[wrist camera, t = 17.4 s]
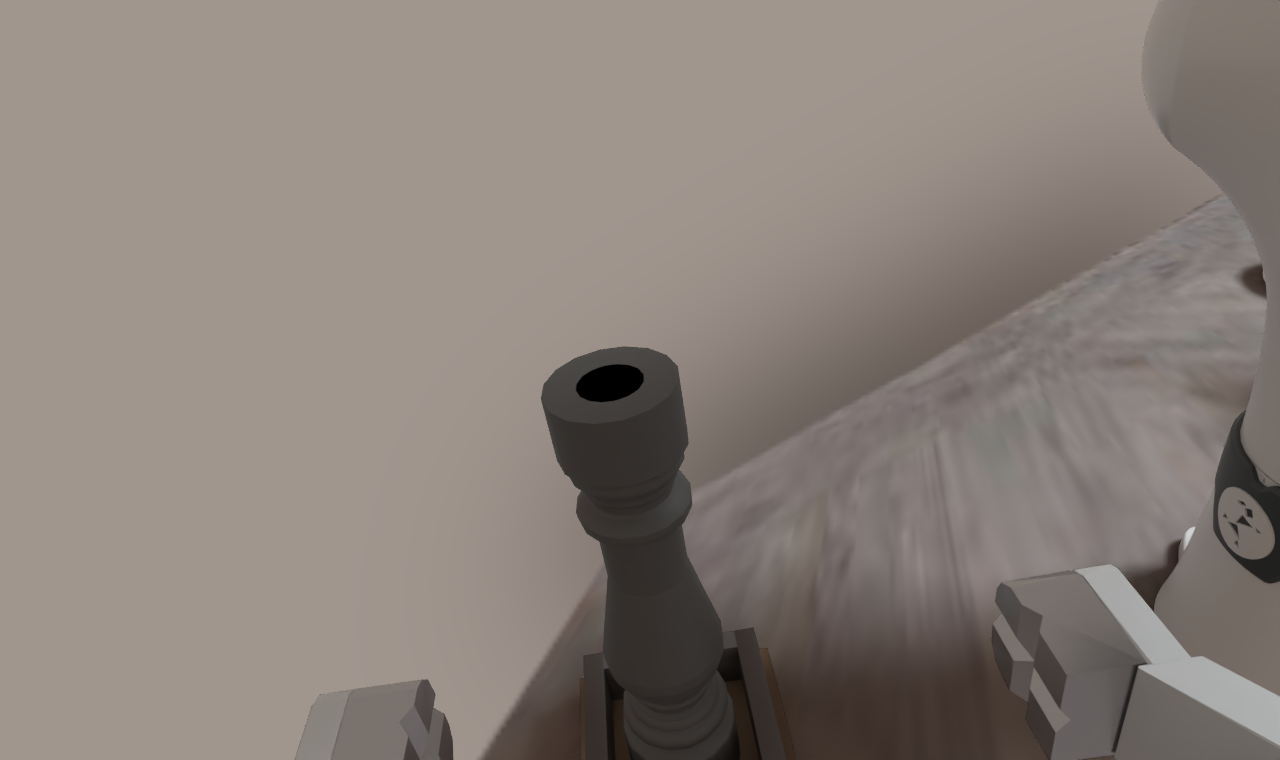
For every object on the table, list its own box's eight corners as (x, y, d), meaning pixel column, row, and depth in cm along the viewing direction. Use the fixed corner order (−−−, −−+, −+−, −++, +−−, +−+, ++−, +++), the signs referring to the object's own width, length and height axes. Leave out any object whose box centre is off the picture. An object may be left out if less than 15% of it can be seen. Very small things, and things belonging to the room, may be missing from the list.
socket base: (768, 663, 51) (763, 614, 49) (818, 854, 41) (814, 805, 39) (584, 693, 52) (570, 647, 49) (588, 892, 41) (570, 845, 39)
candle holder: (622, 719, 48) (528, 363, 35) (722, 691, 48) (666, 331, 35) (643, 818, 43) (542, 444, 30) (755, 786, 43) (704, 404, 30)
